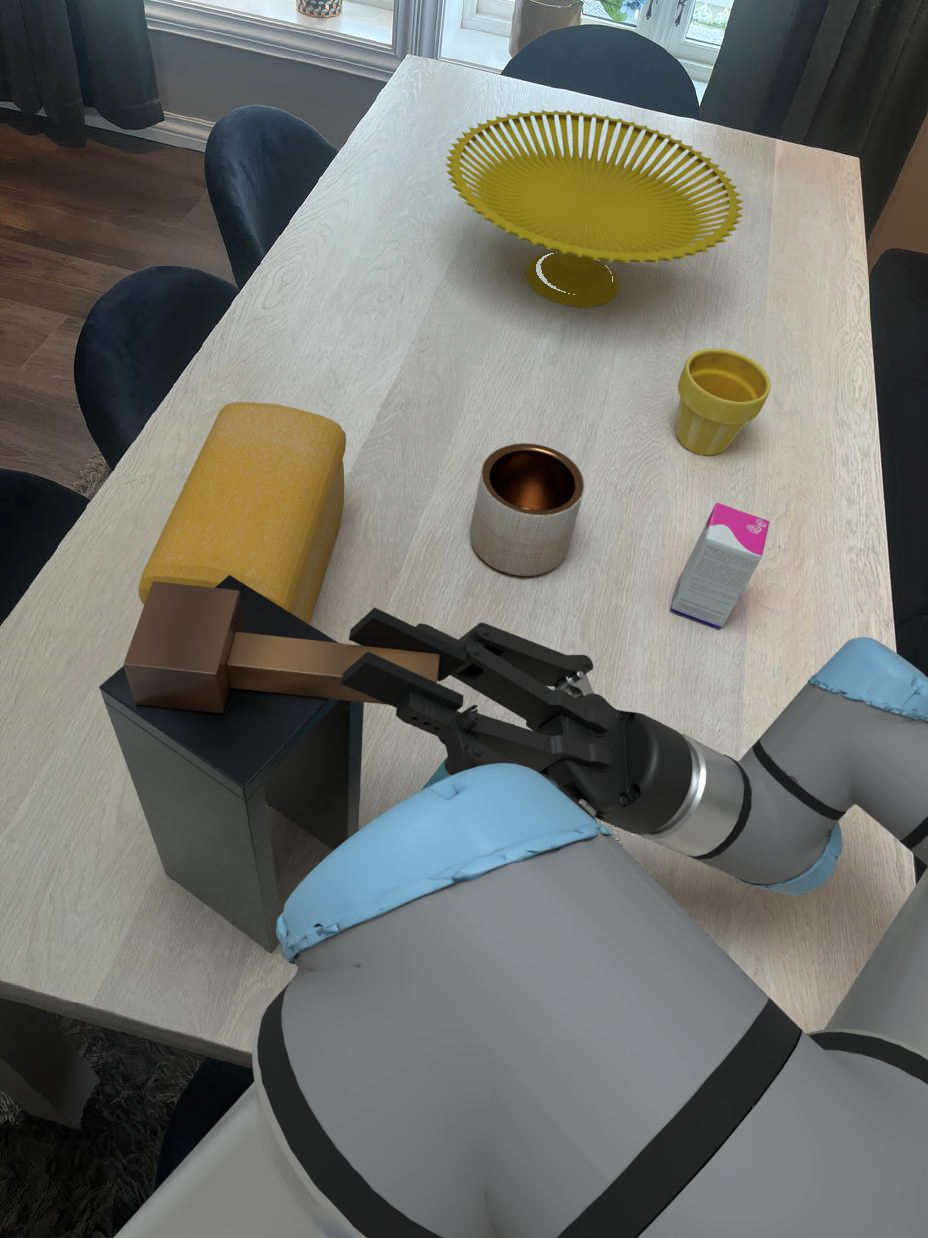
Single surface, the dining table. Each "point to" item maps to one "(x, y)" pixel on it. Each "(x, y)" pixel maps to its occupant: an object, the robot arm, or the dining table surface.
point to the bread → (257, 507)
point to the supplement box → (720, 566)
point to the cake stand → (590, 202)
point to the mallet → (235, 654)
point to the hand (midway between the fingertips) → (358, 645)
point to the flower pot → (718, 398)
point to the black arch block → (241, 777)
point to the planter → (526, 508)
